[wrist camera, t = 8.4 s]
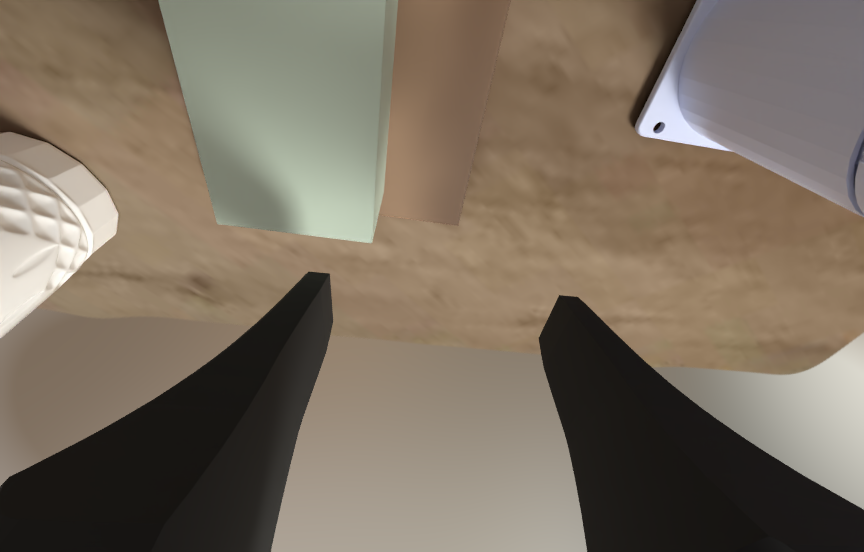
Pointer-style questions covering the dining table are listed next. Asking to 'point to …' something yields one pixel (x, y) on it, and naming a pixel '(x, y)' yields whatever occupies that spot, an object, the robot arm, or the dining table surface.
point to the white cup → (45, 222)
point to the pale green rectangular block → (289, 108)
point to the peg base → (438, 103)
